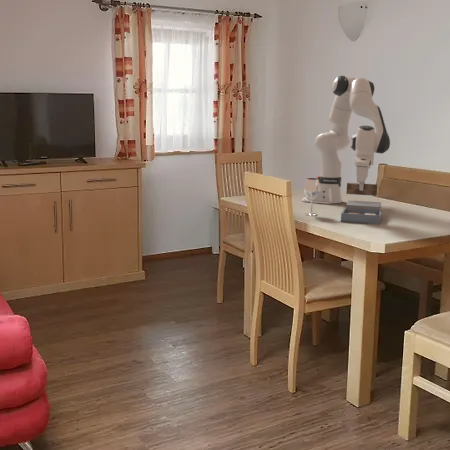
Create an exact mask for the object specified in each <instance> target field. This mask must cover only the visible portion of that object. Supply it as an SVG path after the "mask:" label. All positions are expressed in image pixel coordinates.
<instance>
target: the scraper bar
mask: <svg viewBox="0 0 450 450" xmlns="http://www.w3.org/2000/svg"><path fill="white" fill-rule="evenodd" d="M346 195H358V196H361V195H362V196H371V197H373V196H375V197H376V196H377V195H378V184H377V183H376V184H375V183H374V184H373V183H365V184H364V187H363V191H361V190H359V183H358V182H347V183H346Z"/></svg>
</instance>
